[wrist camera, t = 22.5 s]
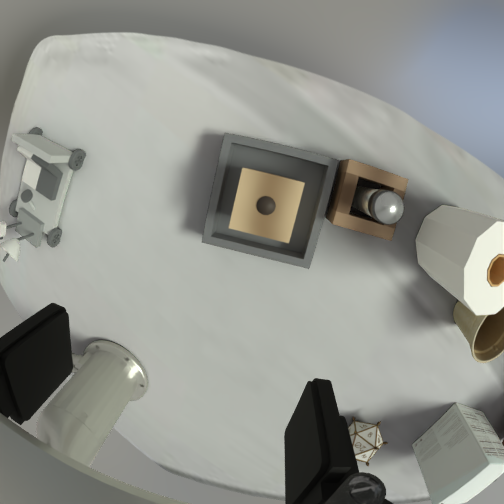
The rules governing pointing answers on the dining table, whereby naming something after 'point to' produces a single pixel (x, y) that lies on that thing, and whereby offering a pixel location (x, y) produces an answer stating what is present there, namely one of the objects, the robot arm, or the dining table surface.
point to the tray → (279, 163)
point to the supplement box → (459, 455)
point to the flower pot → (481, 332)
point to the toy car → (40, 190)
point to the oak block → (266, 204)
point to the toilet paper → (464, 256)
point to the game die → (365, 440)
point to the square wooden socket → (345, 193)
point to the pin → (379, 204)
